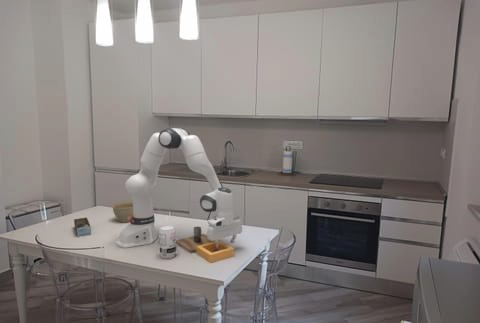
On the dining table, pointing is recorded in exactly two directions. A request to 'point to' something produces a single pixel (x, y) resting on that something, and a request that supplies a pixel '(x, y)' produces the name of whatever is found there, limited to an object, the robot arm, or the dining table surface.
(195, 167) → the robot arm
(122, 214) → the planter bowl
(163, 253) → the supplement can
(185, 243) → the wooden peg stand
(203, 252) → the orange square tray
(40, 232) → the dining table surface
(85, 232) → the beverage carton
